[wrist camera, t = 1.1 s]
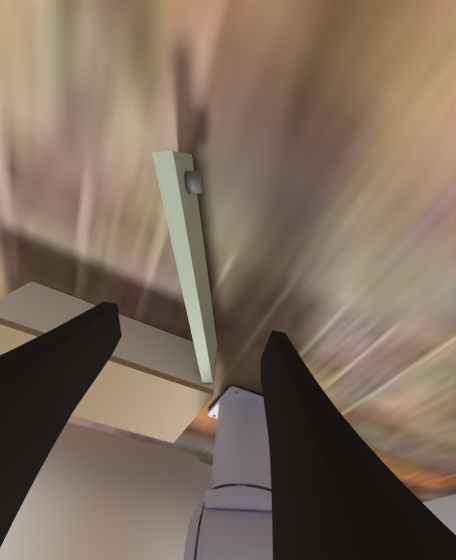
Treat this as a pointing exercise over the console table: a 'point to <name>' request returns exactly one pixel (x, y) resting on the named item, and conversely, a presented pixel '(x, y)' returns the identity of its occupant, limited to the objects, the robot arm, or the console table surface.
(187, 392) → the beige flat box
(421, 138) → the console table surface
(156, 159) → the door
